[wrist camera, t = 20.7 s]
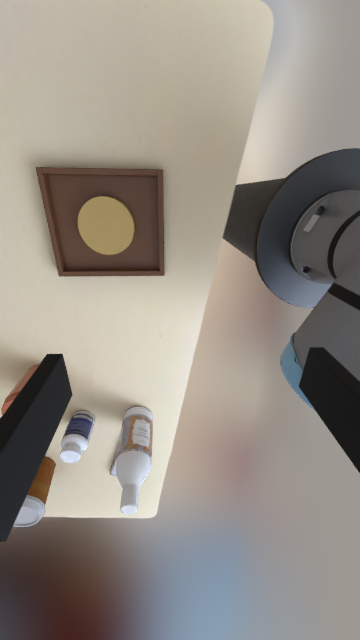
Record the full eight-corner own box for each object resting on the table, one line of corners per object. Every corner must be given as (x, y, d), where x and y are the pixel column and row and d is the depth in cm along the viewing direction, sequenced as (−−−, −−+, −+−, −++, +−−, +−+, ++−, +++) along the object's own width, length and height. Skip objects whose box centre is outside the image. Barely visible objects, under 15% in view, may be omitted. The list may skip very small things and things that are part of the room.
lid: (137, 252, 42) (136, 255, 40) (85, 253, 41) (82, 255, 40) (133, 196, 38) (132, 196, 37) (76, 195, 38) (72, 195, 36)
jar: (60, 363, 52) (40, 396, 43) (68, 392, 55) (51, 428, 47) (21, 364, 51) (-7, 398, 43) (31, 394, 55) (7, 430, 46)
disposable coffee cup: (68, 470, 67) (50, 522, 56) (35, 478, 68) (11, 531, 57) (50, 448, 63) (27, 500, 52) (16, 457, 63) (-14, 510, 53)
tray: (162, 170, 37) (162, 169, 36) (164, 272, 44) (164, 275, 43) (41, 168, 36) (35, 167, 34) (63, 273, 43) (58, 276, 41)
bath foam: (158, 411, 59) (156, 503, 42) (145, 429, 62) (138, 524, 44) (131, 401, 57) (117, 494, 40) (119, 420, 60) (101, 516, 42)
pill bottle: (69, 410, 58) (52, 449, 49) (93, 409, 58) (80, 447, 49) (74, 426, 60) (59, 466, 51) (96, 425, 60) (85, 464, 52)
